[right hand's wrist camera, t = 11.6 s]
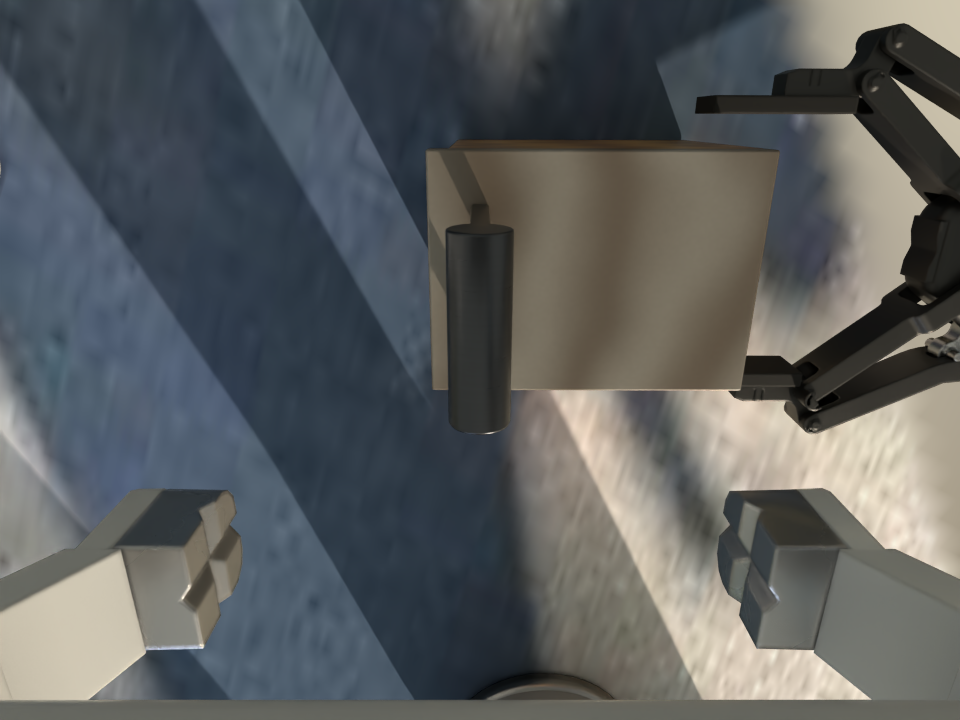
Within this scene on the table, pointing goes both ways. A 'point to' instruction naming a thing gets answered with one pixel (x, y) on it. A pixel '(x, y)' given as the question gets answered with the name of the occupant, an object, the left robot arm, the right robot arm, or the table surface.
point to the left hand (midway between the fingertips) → (686, 247)
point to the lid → (590, 270)
